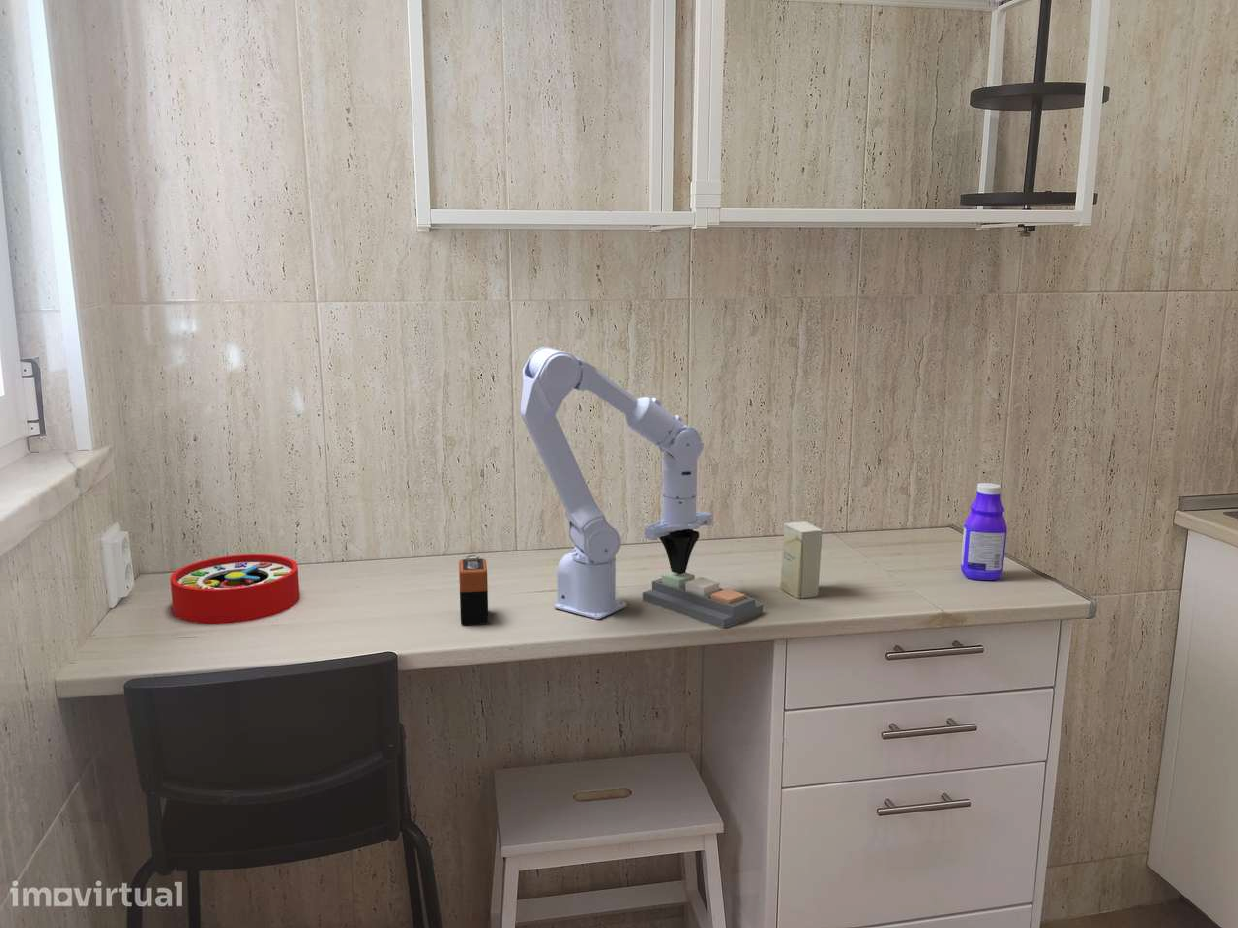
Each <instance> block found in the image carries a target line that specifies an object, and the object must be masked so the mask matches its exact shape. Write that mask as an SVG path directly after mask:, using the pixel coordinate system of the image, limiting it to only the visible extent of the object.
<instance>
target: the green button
mask: <svg viewBox="0 0 1238 928" xmlns="http://www.w3.org/2000/svg"><path fill="white" fill-rule="evenodd" d="M695 577H696V576H695V574H692V573H689V572H685V573H683V574H677V573H674V572H672V571H670V572H666V573H664V574H663V573H662V574H661V578H662V583H663V584H666V585H669V586H672V587H676V588H682V587H685V584H686V582H688V581H691V580H694V579H696V578H695Z"/></svg>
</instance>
